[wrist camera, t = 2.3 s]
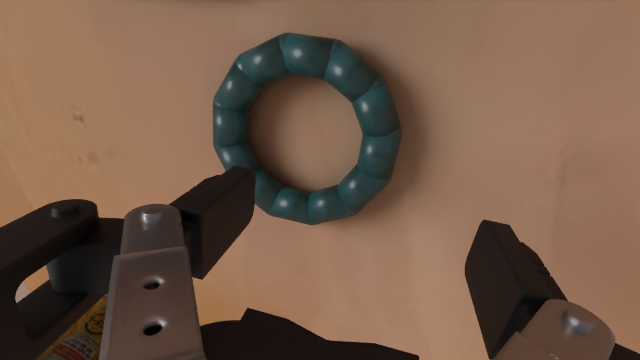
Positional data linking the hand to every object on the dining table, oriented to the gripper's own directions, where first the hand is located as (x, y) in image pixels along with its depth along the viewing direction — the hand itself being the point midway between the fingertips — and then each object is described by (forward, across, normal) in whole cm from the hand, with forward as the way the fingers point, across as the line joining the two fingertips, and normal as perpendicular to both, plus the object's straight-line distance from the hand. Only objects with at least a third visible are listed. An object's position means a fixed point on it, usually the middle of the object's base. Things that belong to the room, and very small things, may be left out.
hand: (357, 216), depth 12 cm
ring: (+7, +4, 0) cm, 8 cm away
